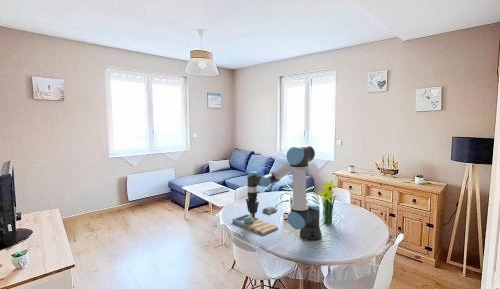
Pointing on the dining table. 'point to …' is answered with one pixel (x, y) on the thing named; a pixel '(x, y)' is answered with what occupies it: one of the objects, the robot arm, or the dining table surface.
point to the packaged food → (269, 210)
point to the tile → (247, 219)
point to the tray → (241, 220)
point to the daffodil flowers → (328, 201)
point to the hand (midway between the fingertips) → (252, 221)
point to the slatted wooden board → (261, 227)
